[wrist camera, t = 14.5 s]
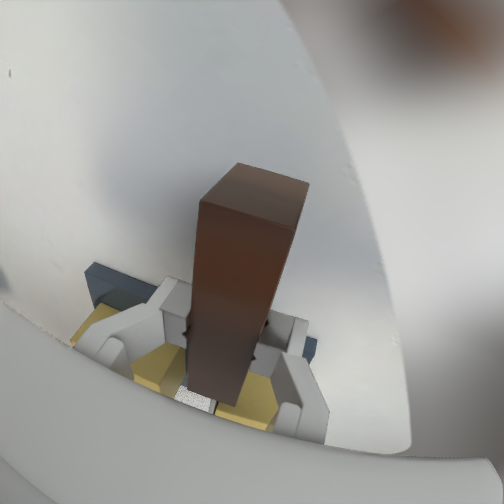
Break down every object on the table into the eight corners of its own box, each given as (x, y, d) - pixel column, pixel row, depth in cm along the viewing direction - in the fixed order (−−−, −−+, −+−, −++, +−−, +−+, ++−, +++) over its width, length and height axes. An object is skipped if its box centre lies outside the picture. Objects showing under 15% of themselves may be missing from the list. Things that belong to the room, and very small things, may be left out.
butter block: (100, 301, 20) (69, 339, 17) (185, 337, 19) (158, 385, 16) (112, 341, 23) (88, 376, 20) (186, 373, 22) (165, 414, 19)
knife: (237, 161, 10) (198, 199, 7) (310, 182, 9) (296, 229, 7) (200, 415, 22) (186, 445, 20) (227, 425, 22) (215, 456, 20)
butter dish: (93, 261, 20) (83, 272, 19) (317, 339, 18) (315, 354, 17) (115, 343, 26) (109, 352, 25) (280, 405, 24) (277, 417, 23)
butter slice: (234, 356, 19) (215, 409, 16) (294, 373, 18) (283, 428, 15) (225, 389, 22) (209, 434, 19) (275, 404, 21) (264, 449, 18)
